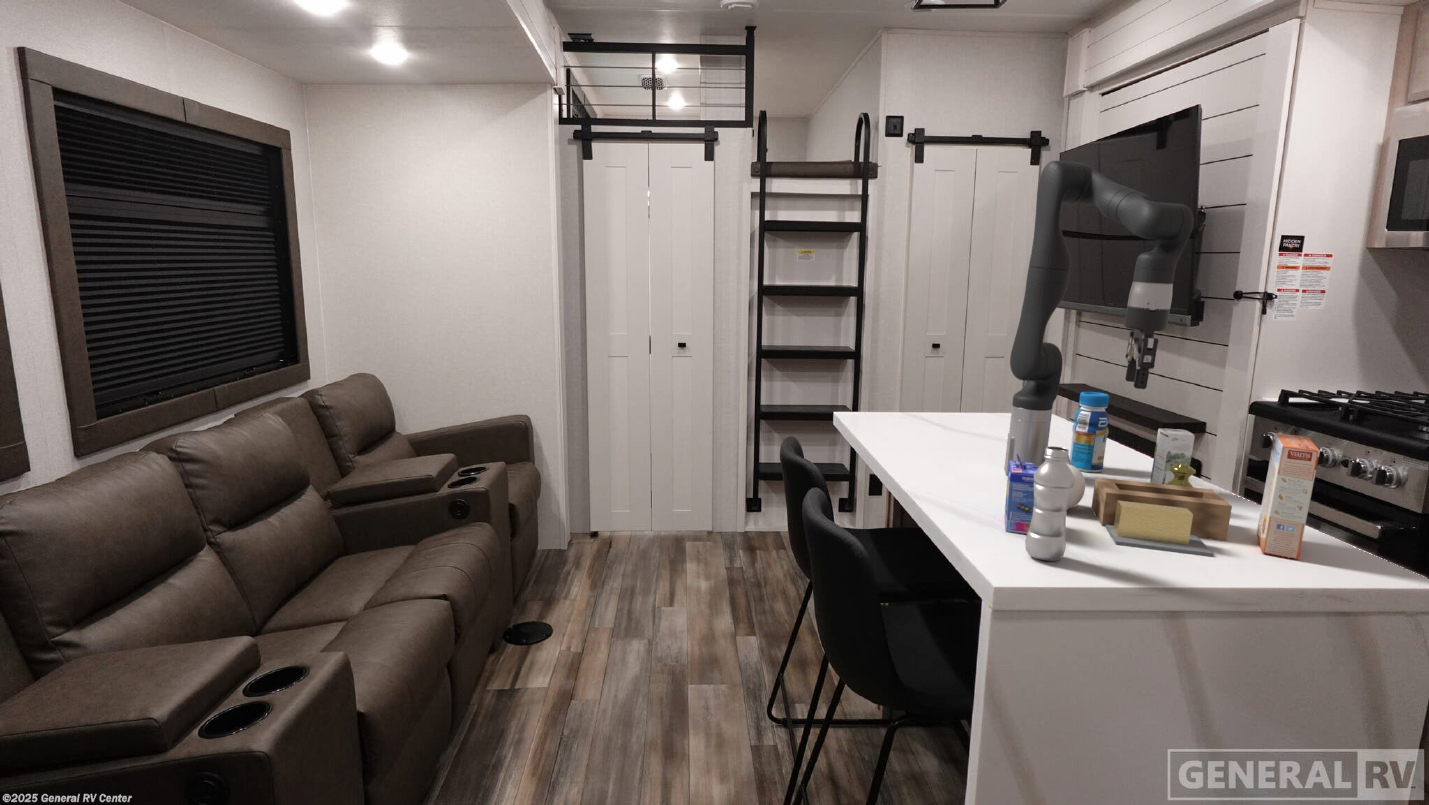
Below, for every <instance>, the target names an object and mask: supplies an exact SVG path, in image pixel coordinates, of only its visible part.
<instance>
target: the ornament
mask: <svg viewBox="0 0 1429 805" xmlns="http://www.w3.org/2000/svg"><path fill="white" fill-rule="evenodd" d="M1068 457H1069V460H1068V461H1066V464H1067V465H1068V467H1069V468H1070V470H1071V471H1072V473H1073V475H1074V486H1073V489H1072V493H1071V496H1070V499H1069V503H1068V508H1067V510H1068V509H1072V508H1074V507H1076V506H1077V505H1078V504H1079V503H1080V502H1081V501H1082V500H1083V497H1084V495H1085V491H1086V482H1085V477H1084V475H1083V473H1082V471H1080V470H1079V469H1078V468H1076V467H1075V466H1073V465H1071V463H1070V455H1069V454H1068Z"/></svg>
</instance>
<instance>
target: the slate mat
mask: <svg viewBox="0 0 1429 805" xmlns="http://www.w3.org/2000/svg"><path fill="white" fill-rule="evenodd" d="M1105 529H1106V531H1107V532H1108V534H1109V536H1110V538H1111V539H1112V541H1113V542H1114V544H1115V545H1117V546H1124V547H1134V548H1140V549H1141V548H1142V549H1150V550H1157V551H1158V550H1159V551H1165V550H1166V551H1167V552H1175V553H1181V552H1182V554H1189V555H1190V554H1191V555H1198V556H1205V555H1206V557H1213V555H1214V552H1212V550H1210V548H1209V547H1208V546H1207V545H1206V544H1205V543H1204V542H1203V541H1202V540H1201V539H1200V537H1197V536H1196V535H1190V538H1189V544H1188V545H1183V544H1175V543H1167V542H1159V541H1151V540H1143V539H1135V538H1127V537H1119V536H1117V535H1116V533H1115V531H1114V526H1113V525H1106V526H1105ZM1166 551H1165V552H1166Z"/></svg>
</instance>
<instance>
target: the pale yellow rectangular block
mask: <svg viewBox="0 0 1429 805" xmlns="http://www.w3.org/2000/svg"><path fill="white" fill-rule="evenodd" d="M1192 518H1193V514H1192V513H1191V512H1190V511H1189V510H1188V509H1187V508H1180V507H1171V506H1162V505H1153V504H1145V503H1136V502H1127V501H1118V500H1117V508H1116V515H1115V522H1114V531H1115V533H1116V535H1117V536H1119V537H1127V538H1135V539H1143V540H1151V541H1159V542H1167V543H1175V544H1183V545H1188V544H1189V538H1190V531H1191V525H1192Z"/></svg>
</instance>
